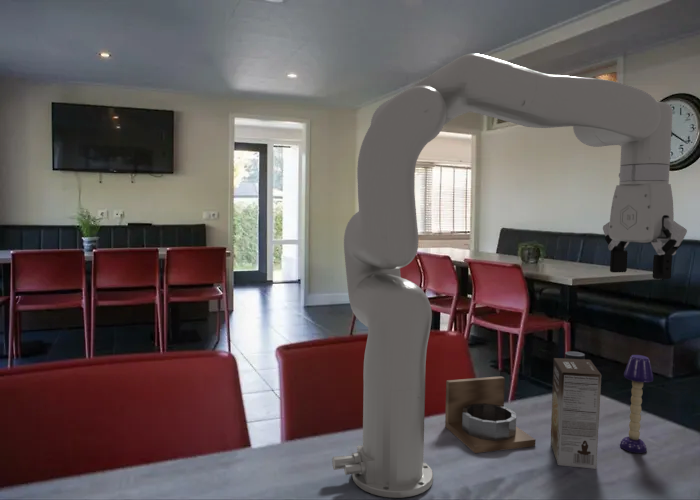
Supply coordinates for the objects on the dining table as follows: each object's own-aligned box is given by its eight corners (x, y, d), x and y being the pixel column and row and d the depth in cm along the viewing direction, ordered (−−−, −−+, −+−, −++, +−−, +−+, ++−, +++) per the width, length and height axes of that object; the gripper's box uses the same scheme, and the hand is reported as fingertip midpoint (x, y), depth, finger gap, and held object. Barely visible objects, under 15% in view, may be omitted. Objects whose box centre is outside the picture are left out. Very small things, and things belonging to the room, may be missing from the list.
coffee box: (548, 443, 100) (552, 356, 99) (586, 446, 99) (590, 359, 97) (557, 466, 91) (561, 371, 90) (598, 470, 90) (603, 373, 88)
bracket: (474, 453, 95) (476, 401, 95) (445, 426, 107) (446, 380, 106) (535, 446, 98) (537, 396, 98) (500, 421, 110) (501, 376, 109)
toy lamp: (622, 440, 101) (627, 351, 100) (651, 446, 99) (656, 355, 98) (617, 449, 98) (622, 357, 96) (647, 456, 95) (652, 361, 94)
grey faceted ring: (477, 442, 97) (478, 424, 96) (453, 422, 106) (454, 405, 106) (525, 437, 99) (526, 419, 99) (498, 418, 108) (498, 401, 108)
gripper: (590, 178, 102) (586, 270, 103) (667, 172, 85) (662, 282, 86) (624, 179, 104) (619, 269, 105) (705, 174, 87) (699, 281, 88)
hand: (638, 275), depth 96 cm, fingers open, 9 cm apart
